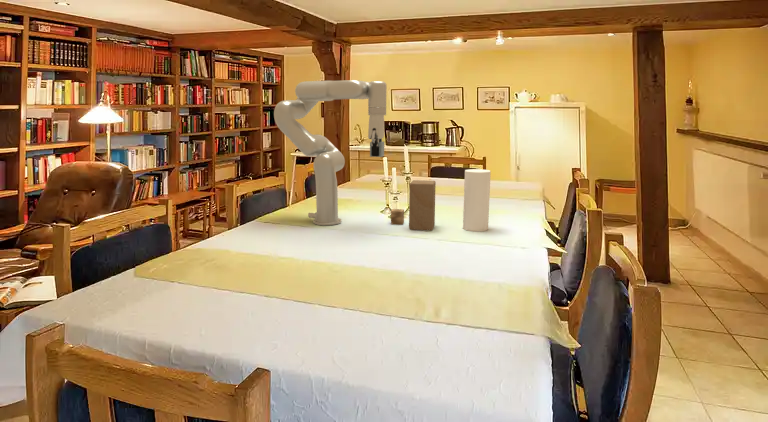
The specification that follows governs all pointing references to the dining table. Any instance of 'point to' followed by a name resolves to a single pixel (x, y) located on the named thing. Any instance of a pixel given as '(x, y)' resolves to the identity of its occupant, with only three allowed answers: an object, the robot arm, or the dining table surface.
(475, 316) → the dining table surface
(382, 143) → the slate block
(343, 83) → the robot arm
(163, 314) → the dining table surface
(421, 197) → the wooden block
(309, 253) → the dining table surface
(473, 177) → the tall pillar cylinder
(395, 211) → the oak block
